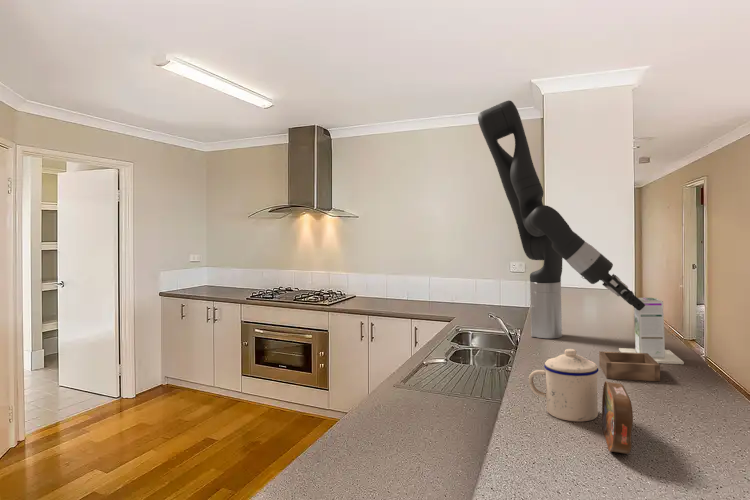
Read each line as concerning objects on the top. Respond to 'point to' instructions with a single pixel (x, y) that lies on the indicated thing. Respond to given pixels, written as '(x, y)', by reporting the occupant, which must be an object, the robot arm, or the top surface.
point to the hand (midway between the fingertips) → (638, 305)
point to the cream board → (668, 359)
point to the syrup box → (650, 328)
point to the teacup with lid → (569, 387)
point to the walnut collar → (629, 366)
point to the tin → (617, 417)
